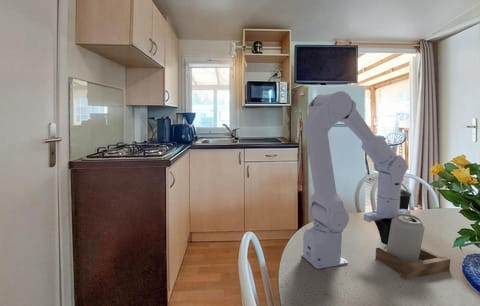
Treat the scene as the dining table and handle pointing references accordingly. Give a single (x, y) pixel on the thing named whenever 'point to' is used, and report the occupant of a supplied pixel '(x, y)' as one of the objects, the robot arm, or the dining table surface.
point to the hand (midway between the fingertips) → (385, 243)
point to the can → (405, 237)
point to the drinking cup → (404, 199)
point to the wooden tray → (415, 264)
